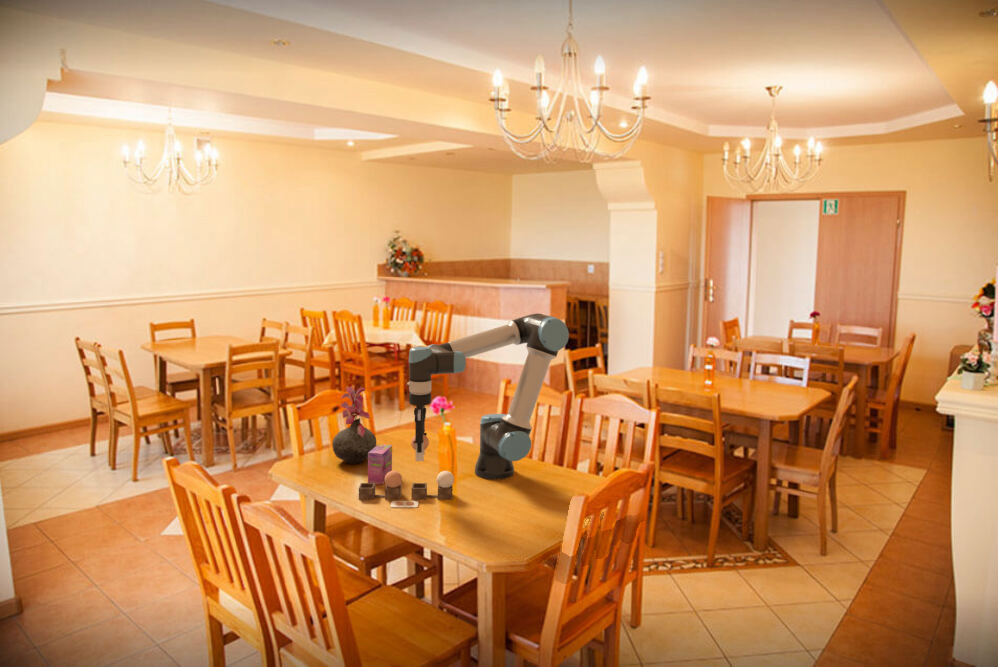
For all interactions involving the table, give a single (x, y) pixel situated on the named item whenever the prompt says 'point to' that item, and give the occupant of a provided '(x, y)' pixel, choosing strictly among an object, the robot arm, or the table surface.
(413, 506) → the card
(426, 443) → the terracotta ball
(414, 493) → the rack
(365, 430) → the vase
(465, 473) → the table surface
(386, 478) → the terracotta ball
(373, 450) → the box
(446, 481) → the ball cream
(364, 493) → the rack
